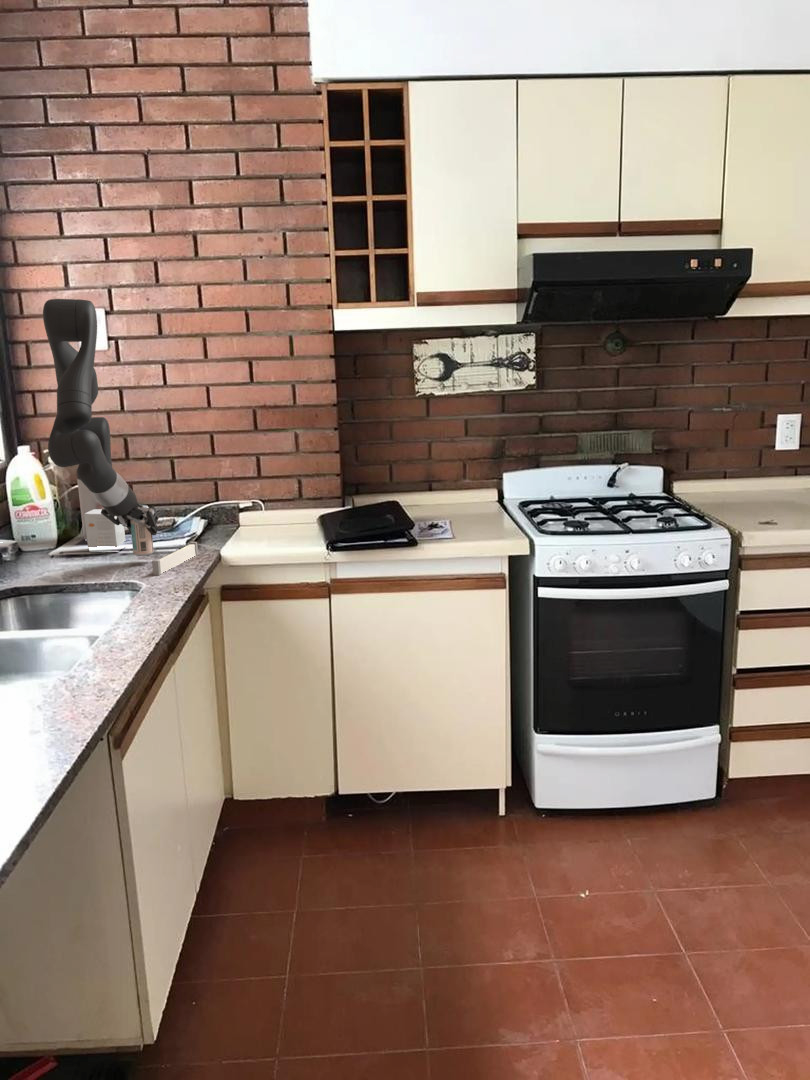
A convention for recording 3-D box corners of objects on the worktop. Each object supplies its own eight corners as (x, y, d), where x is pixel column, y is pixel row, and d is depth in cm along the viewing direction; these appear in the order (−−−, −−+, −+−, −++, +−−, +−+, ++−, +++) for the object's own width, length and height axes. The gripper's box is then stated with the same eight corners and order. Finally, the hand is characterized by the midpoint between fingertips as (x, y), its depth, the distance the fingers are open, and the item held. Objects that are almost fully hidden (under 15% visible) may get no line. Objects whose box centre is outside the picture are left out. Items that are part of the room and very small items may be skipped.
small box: (126, 547, 223) (122, 508, 221) (117, 553, 218) (113, 513, 215) (97, 547, 224) (93, 508, 222) (87, 553, 219) (83, 513, 216)
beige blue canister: (157, 552, 209) (153, 505, 206) (144, 557, 205) (140, 508, 202) (142, 551, 211) (138, 503, 208) (129, 555, 207) (124, 507, 204)
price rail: (159, 575, 198) (157, 561, 197) (153, 574, 198) (151, 560, 197) (198, 555, 215) (197, 542, 214) (192, 554, 215) (191, 541, 215)
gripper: (145, 479, 195) (176, 520, 209) (91, 478, 198) (125, 517, 212) (134, 507, 191) (167, 546, 205) (79, 504, 195) (115, 543, 209)
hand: (145, 531), depth 209 cm, fingers closed on beige blue canister, 4 cm apart
